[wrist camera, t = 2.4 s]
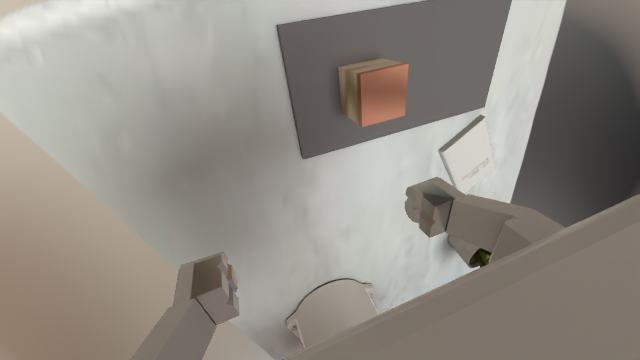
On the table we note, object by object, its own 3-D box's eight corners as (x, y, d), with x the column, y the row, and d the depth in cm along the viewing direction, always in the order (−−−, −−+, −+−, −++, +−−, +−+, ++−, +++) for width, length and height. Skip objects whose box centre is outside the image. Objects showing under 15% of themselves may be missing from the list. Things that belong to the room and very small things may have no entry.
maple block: (379, 103, 30) (404, 115, 26) (341, 113, 28) (362, 127, 24) (380, 58, 27) (408, 63, 23) (338, 67, 26) (360, 74, 22)
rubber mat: (480, 106, 36) (484, 107, 36) (302, 157, 30) (303, 159, 30) (510, -13, 28) (515, -14, 28) (276, 25, 22) (277, 25, 22)
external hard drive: (477, 113, 38) (489, 163, 45) (435, 148, 38) (454, 191, 46) (486, 116, 36) (497, 166, 44) (443, 152, 37) (461, 196, 44)
